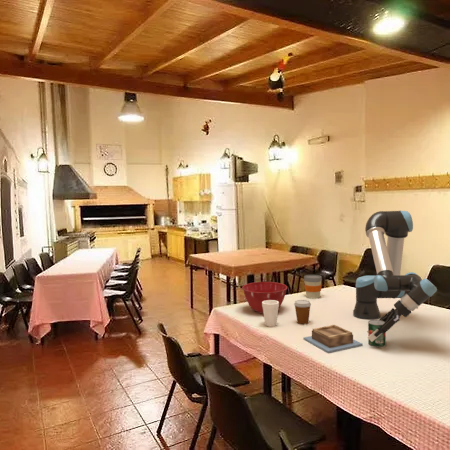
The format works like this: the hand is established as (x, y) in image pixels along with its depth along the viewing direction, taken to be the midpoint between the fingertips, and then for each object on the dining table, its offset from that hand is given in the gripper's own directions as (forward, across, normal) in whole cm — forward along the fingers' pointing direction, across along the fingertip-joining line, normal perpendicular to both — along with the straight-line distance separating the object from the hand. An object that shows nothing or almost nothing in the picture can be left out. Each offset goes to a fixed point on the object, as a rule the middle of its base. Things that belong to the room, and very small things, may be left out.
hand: (369, 336), depth 193 cm
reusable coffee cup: (+28, +84, +22) cm, 91 cm away
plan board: (+15, -2, +10) cm, 18 cm away
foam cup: (+40, +18, +34) cm, 55 cm away
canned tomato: (0, 0, -5) cm, 5 cm away
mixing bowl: (+46, +46, +41) cm, 77 cm away
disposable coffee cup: (+28, +26, +22) cm, 44 cm away
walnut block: (+15, -2, +10) cm, 18 cm away
